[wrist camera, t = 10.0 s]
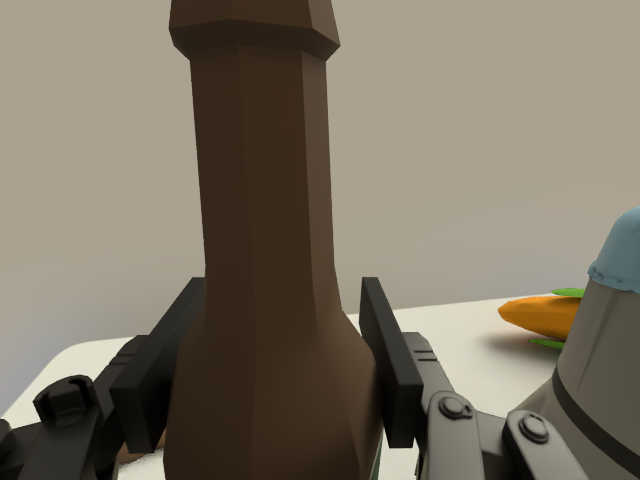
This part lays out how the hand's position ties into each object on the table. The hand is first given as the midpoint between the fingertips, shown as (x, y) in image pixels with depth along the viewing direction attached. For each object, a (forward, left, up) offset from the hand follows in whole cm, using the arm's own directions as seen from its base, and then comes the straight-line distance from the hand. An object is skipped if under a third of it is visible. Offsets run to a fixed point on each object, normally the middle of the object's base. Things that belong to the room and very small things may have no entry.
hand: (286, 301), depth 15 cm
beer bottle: (+1, +5, -13) cm, 14 cm away
